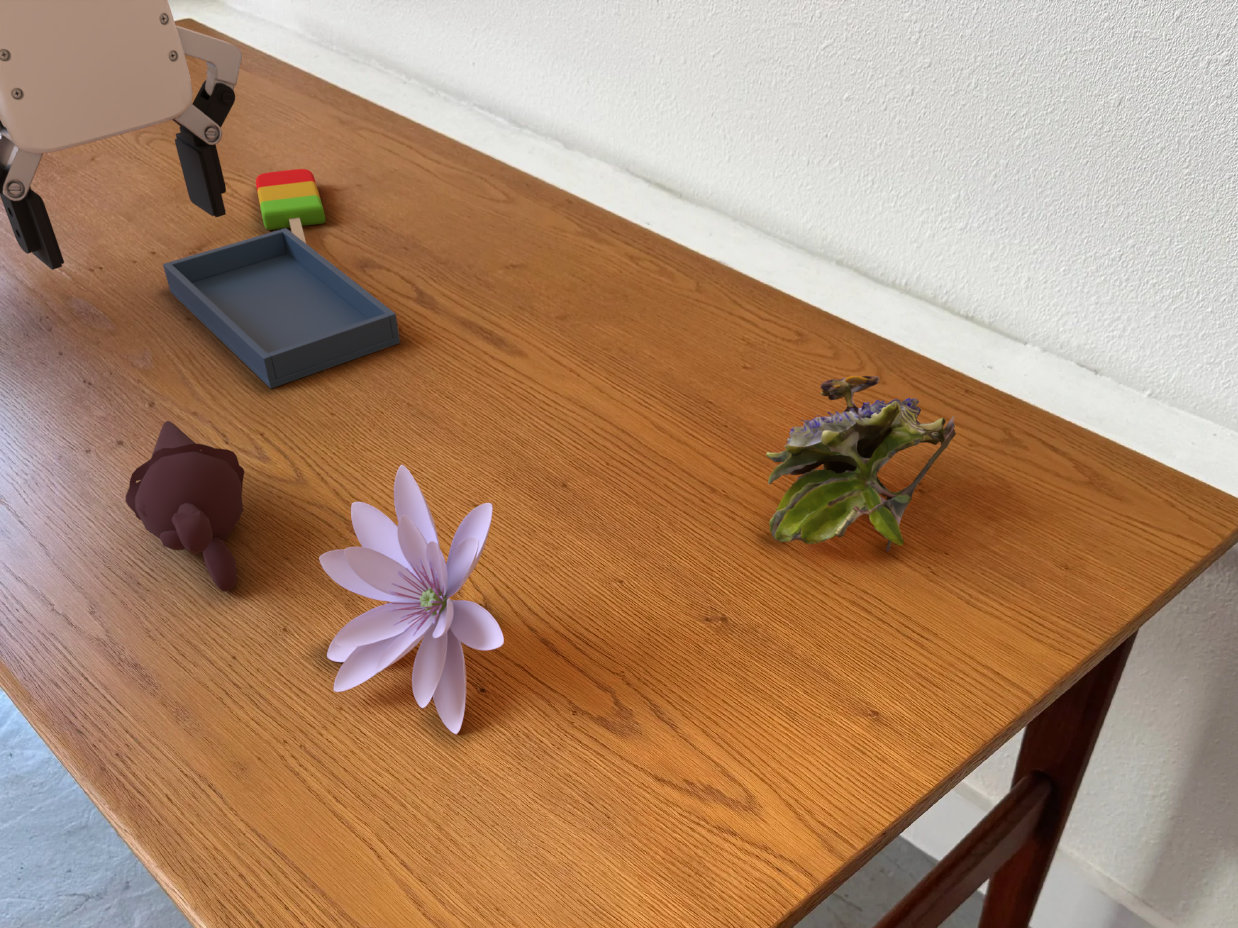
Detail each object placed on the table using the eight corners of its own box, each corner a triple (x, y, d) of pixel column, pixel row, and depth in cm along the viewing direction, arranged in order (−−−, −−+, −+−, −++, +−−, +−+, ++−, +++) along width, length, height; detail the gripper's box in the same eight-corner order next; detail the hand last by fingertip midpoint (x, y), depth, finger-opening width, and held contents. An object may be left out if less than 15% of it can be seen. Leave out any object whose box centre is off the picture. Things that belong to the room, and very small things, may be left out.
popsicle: (315, 184, 120) (311, 165, 119) (334, 252, 110) (330, 232, 108) (257, 191, 119) (253, 172, 117) (271, 260, 108) (266, 240, 107)
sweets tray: (270, 389, 93) (263, 358, 91) (170, 292, 104) (162, 263, 102) (400, 343, 98) (396, 313, 96) (291, 255, 109) (286, 227, 107)
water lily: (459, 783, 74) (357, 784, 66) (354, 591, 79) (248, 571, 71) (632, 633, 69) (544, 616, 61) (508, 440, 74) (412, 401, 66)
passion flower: (825, 546, 88) (906, 392, 85) (923, 612, 80) (1017, 445, 77) (710, 503, 81) (794, 334, 78) (804, 571, 73) (902, 385, 70)
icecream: (86, 408, 79) (122, 558, 70) (193, 360, 80) (242, 503, 71) (142, 481, 85) (181, 629, 76) (241, 436, 86) (292, 578, 77)
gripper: (161, -151, 64) (235, 172, 76) (-193, -97, 56) (-48, 258, 68) (232, -127, 60) (298, 211, 72) (-139, -64, 52) (5, 307, 64)
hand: (131, 233), depth 70 cm, fingers open, 9 cm apart
